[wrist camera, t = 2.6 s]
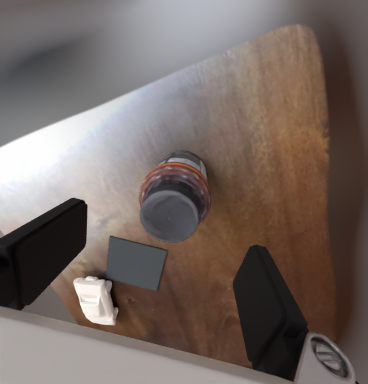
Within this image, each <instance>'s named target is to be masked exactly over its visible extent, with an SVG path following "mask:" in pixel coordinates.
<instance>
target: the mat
mask: <svg viewBox="0 0 368 384" xmlns="http://www.w3.org/2000/svg"><path fill="white" fill-rule="evenodd" d="M166 253H167V250H164V249H160V248H156V247H152V246H148V245H144V244H140V243H136V242H132V241H128V240H124V239H120V238H116V237H112V236H110V238H109V250H108V261H107V272H106V279H110V280H114V281H118V282H122V283H127V284H131V285H135V286H139V287H143V288H147V289H151V290H155V291H157V288H158V284H159V280H160V276H161V273H162V269H163V265H164V261H165V257H166Z"/></svg>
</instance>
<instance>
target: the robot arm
mask: <svg viewBox="0 0 368 384" xmlns="http://www.w3.org/2000/svg"><path fill="white" fill-rule="evenodd" d="M86 235H87V204H85V201H84V200H80V199H77V198H71V199H69V200H67V201H65V202H64V203H62V204H60V205H58V206H57V207H55V208H53V209H51V210H49V211H48V212H46V213H44V214H42V215H41V216H39V217H37V218H35V219H34V220H32V221H30V222H28V223H26V224H25V225H23V226H21V227H19V228H18V229H16V230H14V231H12V232H11V233H9V234H7V235H5V236H4V237H2V238H0V384H359V383H358V382H357V381H356V380H355V374H354V370H353V368H352V365H351V363H350V361H349V360H348V359H347V357H346V356H345V354H344V353H343V352H342V351H341V350H340V349H339V348H338V346H337V345H336V344H334V343H333V342H332V341H331V340H330V339H328V338H327V337H325V336H324V335H322V334H320V333H317V332H309V330H308V328H307V325H308V324H307V322H306V320H305V318H304V316H303V314H302V312H301V311H300V309H299V307H298V305H297V303H296V301H295V300H294V298H293V296H292V294H291V292H290V290H289V289H288V287H287V285H286V283H285V281H284V279H283V277H282V276H281V274H280V272H279V270H278V268H277V266H276V265H275V263H274V261H273V259H272V257H271V255H270V254H269V252H268V250H267V248H266V247H263V246H259V245H253V246H250V248H249V250H248V252H247V254H246V256H245V258H244V260H243V262H242V264H241V266H240V268H239V270H238V272H237V275H236V277H235V279H234V281H233V289H234V294H235V299H236V303H237V308H238V313H239V318H240V323H241V328H242V333H243V338H244V342H245V347H246V352H247V357H248V359H249V361H250V362H252V366H253V370H252V369H248V368H245V367H241V366H238V365H234V364H230V363H226V362H223V361H219V360H215V359H211V358H207V357H203V356H199V355H196V354H192V353H188V352H184V351H180V350H176V349H172V348H168V347H164V346H160V345H157V344H153V343H149V342H145V341H141V340H137V339H133V338H129V337H125V336H121V335H117V334H113V333H109V332H105V331H101V330H97V329H93V328H89V327H85V326H81V325H77V324H72V323H69V322H64V321H60V320H56V319H52V318H48V317H44V316H40V315H36V314H32V313H28V312H24V311H21V310H22V309H23V308H24V307H25V306H26V305H30V304H31V303H32V302H33V301H34V300H35V299H36V298H37V297H38V296H39V295H40V294H41V293H42V292H43V291H44V290H45V289H46V288H47V286H49V285H50V284H51V282H52V281H53V280H54V279H55V278H56V277H57V276H58V275H59V274H60V273H61V272H62V271H63V270H64V269H65V268H66V267H67V266H68V265H69V263H70V262H71V261H72V260H73V259H74V258H75V257H76V256H77V255H78V254H79V253H80V252H81V251H82V250H83V249H84V247H85V245H86Z"/></svg>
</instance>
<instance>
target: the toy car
mask: <svg viewBox="0 0 368 384" xmlns="http://www.w3.org/2000/svg"><path fill="white" fill-rule="evenodd" d="M73 283H74V286H75V289H76V292H77V294H78V297H79V301H80V304H81V308H82V310H83V313H84V314H86V318H87V319H89V320H90V321H91V322H93V323H98V324H105V325H115V318H116V316H117V314H118V308H117V307H113V303H112V299H111V295H110V290H111V287H112V282H111V281H105V280H103V279H101V280H98V277H92V276H91V277H90V276H88V277H86V278H76V279H75V280H74V282H73Z"/></svg>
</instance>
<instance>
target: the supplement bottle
mask: <svg viewBox="0 0 368 384" xmlns="http://www.w3.org/2000/svg"><path fill="white" fill-rule="evenodd" d="M207 175H208V173H207V172H206V168H205V166H204V164H203V162H202V161H201V159H200V158H199V157H198V156H197V155H195V154H193V153H191V152H188V151H176V152H173V153H171V154H169V155H167V156H166V157H165V158H164V159H163V160H162V161H161V162H160V163H159V164H158V165H157V166H156V167H155V168H154V169H153V170H152V171H151V172H150V173H149V174H148V175H147V176H146V178H145V179H144V181H143V183H142V185H141V188H140V192H139V204H140V208H141V210H140V219H141V223H142V225H143V227H144V229H145V230H146V231H147V233H148V234H150V235H151V236H152V237H154V238H155V239H157V240H160V241H163V242H168V243H177V242H181V241H184V240H185V239H187V238H189V237H190V236H191V235H192V234H193V233H194V232H195V231H196V229H197V227H198V225H199V224H200V223H202V221H203V220H204V219H205V217H206V216H207V214H208V212H209V209H210V203H211V197H210V189H209V183H208V178H207Z"/></svg>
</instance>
